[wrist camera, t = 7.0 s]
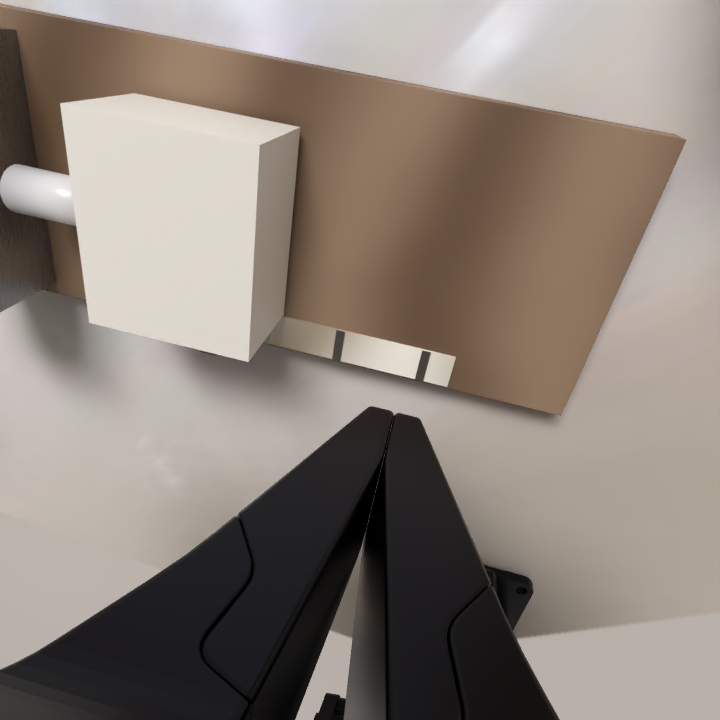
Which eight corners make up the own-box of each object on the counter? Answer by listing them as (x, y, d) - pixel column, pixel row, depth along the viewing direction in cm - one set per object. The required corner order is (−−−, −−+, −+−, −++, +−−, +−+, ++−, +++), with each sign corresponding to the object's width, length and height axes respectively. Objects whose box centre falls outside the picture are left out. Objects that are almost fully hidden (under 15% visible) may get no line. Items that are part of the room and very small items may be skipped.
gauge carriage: (300, 127, 15) (259, 145, 12) (279, 363, 19) (245, 415, 16) (39, 73, 16) (-53, 79, 13) (74, 313, 20) (10, 355, 17)
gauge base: (674, 134, 14) (688, 140, 13) (557, 399, 19) (561, 418, 18) (-58, -8, 16) (-92, -11, 15) (1, 265, 21) (-22, 275, 20)
